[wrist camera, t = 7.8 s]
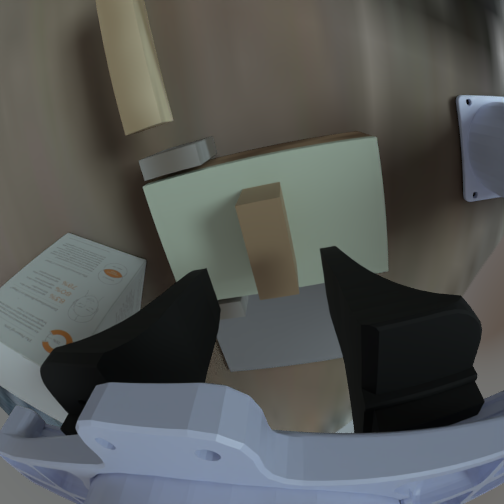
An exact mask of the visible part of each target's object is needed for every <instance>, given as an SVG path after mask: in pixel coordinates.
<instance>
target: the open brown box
mask: <svg viewBox="0 0 504 504" xmlns="http://www.w3.org/2000/svg"><path fill="white" fill-rule="evenodd" d="M367 136H371V135H368V134H365V133H361V132H358V131H354V132H347V133H340V134H333V135H327V136H321V137H315V138H309V139H303V140H298V141H292V142H287V143H282V144H277V145H272V146H267V147H262V148H257V149H253V150H248V151H244V152H239V153H235V154H231V155H227V156H223V157H218V158H214V159H210V158H211V157H213V156H214V155H215V154H217V151H216V147H215V144H214V140H213V136H211V137H208V138H204V139H200V140H197V141H193V142H190V143H186V144H183V145H179V146H176V147H173V148H169V149H166V150H164V151H161V152H159V153H156V154H154V155H151V156H149V157H147V158H144V159H142V160H139V164H140V167H141V171H142V174H143V177H144V180H145V181H146V180H149V179H153V178H156V177H157V178H156V179H154V180H152V181H151V182H154V181H158V180H161V179H165V178H168V177H172V176H175V175H179V174H183V173H186V172H190V171H194V170H198V169H202V168H206V167H210V166H214V165H218V164H222V163H226V162H230V161H234V160H239V159H243V158H248V157H252V156H257V155H262V154H266V153H271V152H276V151H281V150H286V149H292V148H297V147H303V146H308V145H314V144H320V143H326V142H332V141H339V140H345V139H352V138H360V137H367ZM209 159H210V160H209ZM151 182H149V183H151ZM248 298H249V295H247V296H241V297H234V298H227V299H220V300H218V303H219V305H220V308H221V313H220V320H222V319H230V318H238V317H245V316H246V310H247V304H248Z"/></svg>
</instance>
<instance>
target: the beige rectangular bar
mask: <svg viewBox="0 0 504 504" xmlns="http://www.w3.org/2000/svg"><path fill="white" fill-rule="evenodd" d="M96 6H97V12H98V18H99V24H100V29H101V34H102V39H103V44H104V49H105V54H106V59H107V63H108V68H109V72H110V77H111V81H112V85H113V89H114V94H115V98H116V102H117V106H118V109H119V113H120V117H121V121H122V124H123V128H124V132H125V135H130V134H134V133H139V132H142V131H145V130H147V129H150V128H153V127H156V126H159V125H162V124H165V123H168V122H171V121H173V117H172V113H171V109H170V106H169V102H168V98H167V94H166V90H165V86H164V83H163V79H162V75H161V71H160V67H159V63H158V59H157V54H156V50H155V46H154V42H153V38H152V34H151V29H150V25H149V21H148V16H147V12H146V7H145V3H144V0H96Z"/></svg>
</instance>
